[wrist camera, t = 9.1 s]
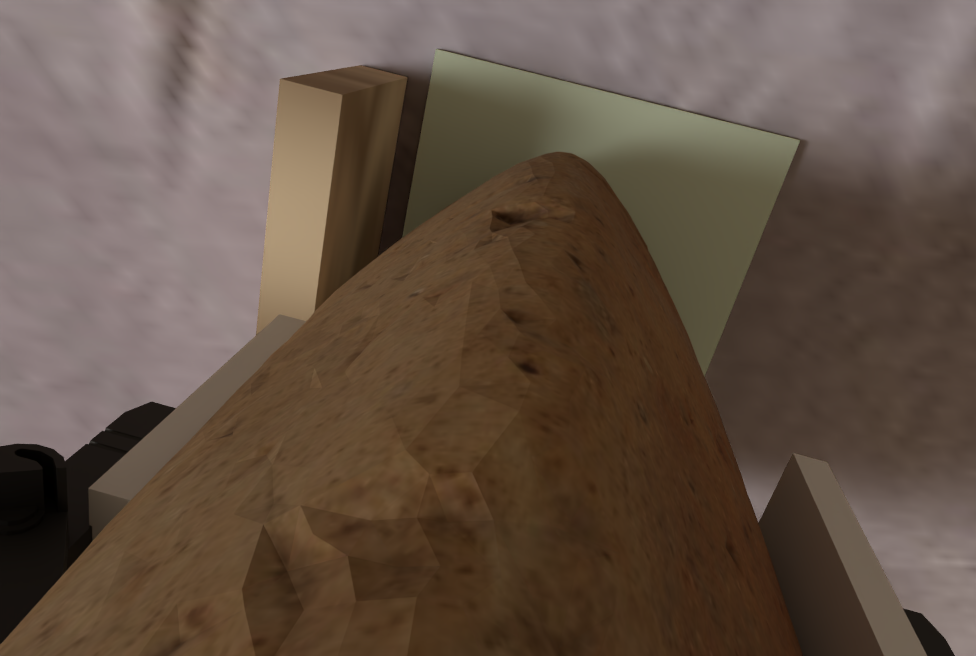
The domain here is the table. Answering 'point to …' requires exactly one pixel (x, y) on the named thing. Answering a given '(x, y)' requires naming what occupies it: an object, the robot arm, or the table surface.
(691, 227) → the pad
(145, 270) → the table surface
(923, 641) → the robot arm
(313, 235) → the wooden l-shaped piece
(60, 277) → the table surface
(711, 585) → the brown sandstone rock
